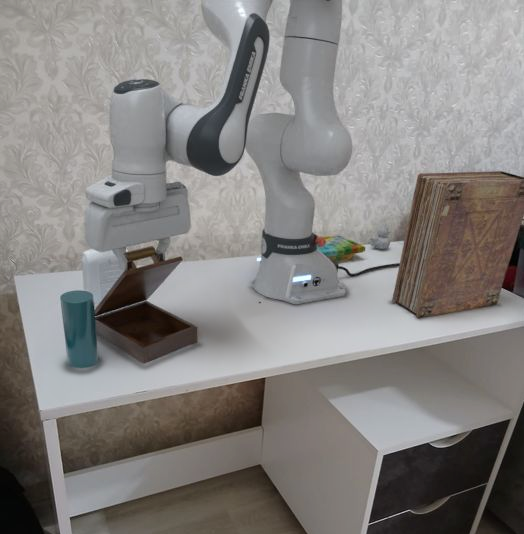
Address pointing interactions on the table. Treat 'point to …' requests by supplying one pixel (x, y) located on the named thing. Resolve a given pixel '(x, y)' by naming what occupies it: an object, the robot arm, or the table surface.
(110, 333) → the chest
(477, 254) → the book
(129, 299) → the lid
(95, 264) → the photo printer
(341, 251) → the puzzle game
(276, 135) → the robot arm
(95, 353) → the canister
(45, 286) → the table surface
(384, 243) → the grey figurine
